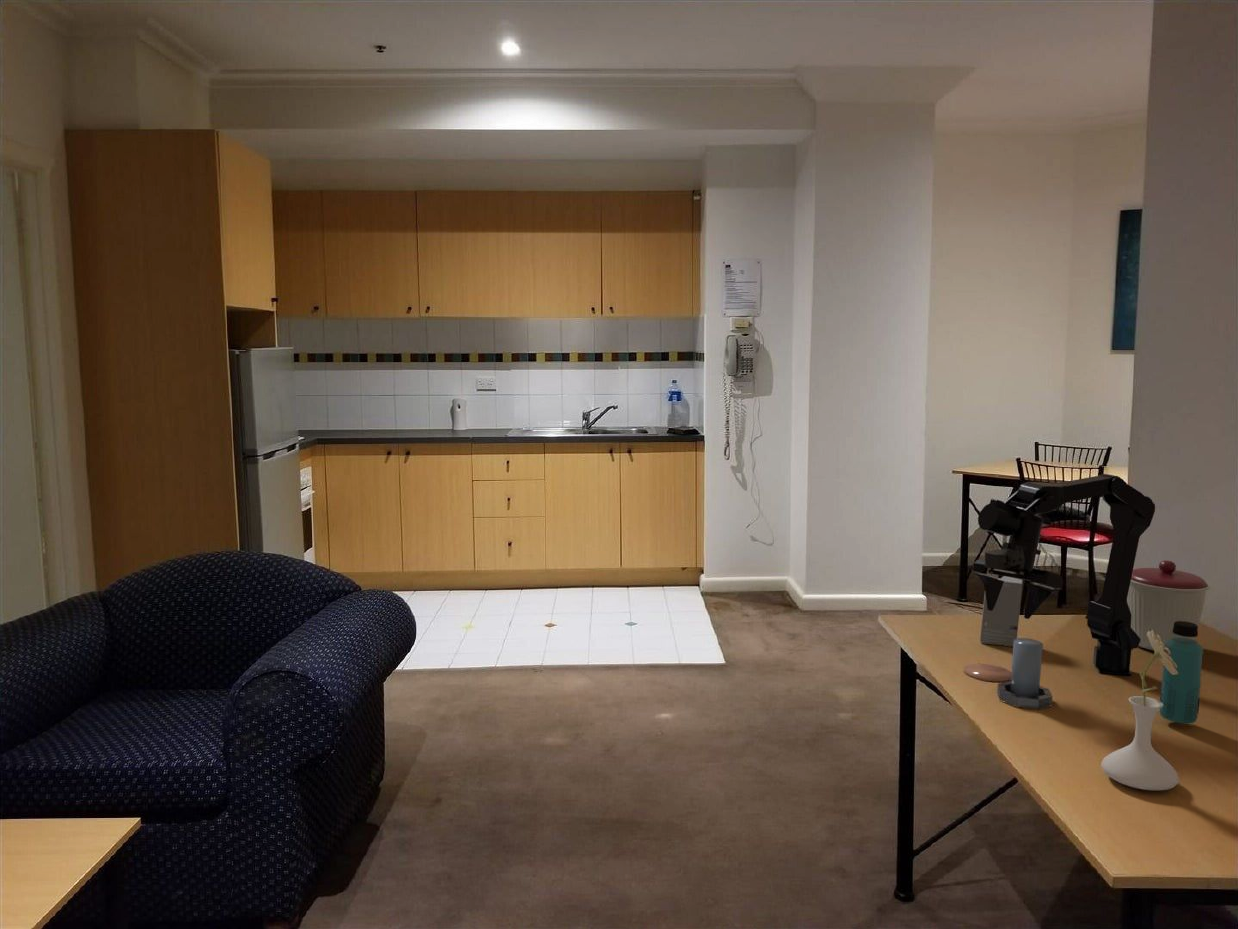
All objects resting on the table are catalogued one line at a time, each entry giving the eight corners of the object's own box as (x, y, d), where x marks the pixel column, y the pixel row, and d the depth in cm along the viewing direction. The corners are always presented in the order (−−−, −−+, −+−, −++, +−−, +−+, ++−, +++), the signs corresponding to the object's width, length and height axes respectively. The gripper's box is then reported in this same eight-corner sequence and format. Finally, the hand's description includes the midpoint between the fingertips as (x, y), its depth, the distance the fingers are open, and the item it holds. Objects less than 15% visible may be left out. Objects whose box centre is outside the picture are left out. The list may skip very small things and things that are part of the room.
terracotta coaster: (1009, 668, 214) (1009, 666, 214) (1015, 684, 204) (1015, 681, 204) (961, 664, 217) (961, 661, 217) (965, 679, 207) (965, 676, 207)
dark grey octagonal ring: (1046, 693, 199) (1046, 684, 199) (1054, 711, 190) (1054, 701, 189) (995, 688, 202) (996, 679, 201) (1000, 705, 192) (1001, 695, 192)
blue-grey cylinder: (1036, 696, 198) (1040, 639, 196) (1040, 706, 192) (1044, 647, 191) (1008, 693, 199) (1012, 637, 197) (1011, 703, 194) (1015, 645, 192)
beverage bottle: (1202, 733, 180) (1213, 629, 178) (1163, 729, 182) (1173, 626, 179) (1189, 719, 187) (1199, 619, 184) (1152, 716, 188) (1161, 616, 185)
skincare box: (979, 643, 231) (984, 579, 229) (980, 635, 238) (985, 572, 236) (1018, 648, 228) (1022, 583, 226) (1017, 639, 235) (1022, 576, 233)
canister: (1206, 644, 234) (1214, 559, 231) (1201, 664, 219) (1210, 574, 216) (1122, 630, 244) (1130, 548, 241) (1112, 649, 229) (1120, 562, 226)
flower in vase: (1176, 804, 152) (1191, 651, 149) (1096, 786, 158) (1109, 638, 155) (1179, 773, 163) (1194, 630, 160) (1104, 757, 169) (1117, 618, 166)
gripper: (962, 528, 207) (946, 599, 206) (1036, 538, 191) (1019, 615, 189) (997, 539, 212) (981, 609, 211) (1072, 550, 196) (1056, 625, 194)
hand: (1007, 614), depth 201 cm, fingers open, 9 cm apart
